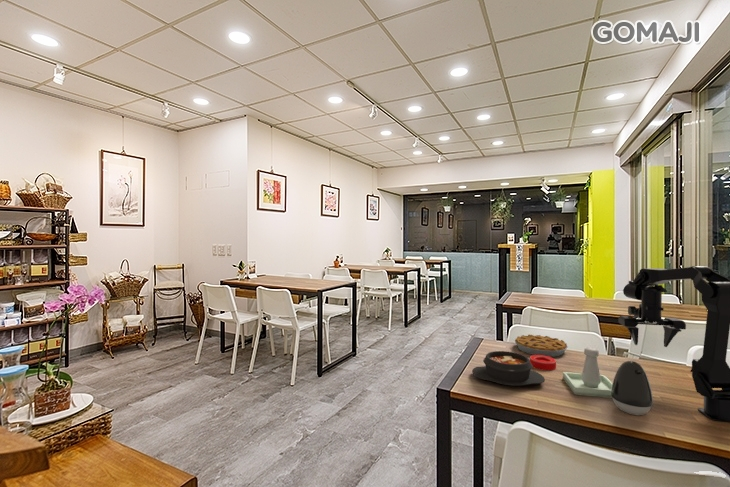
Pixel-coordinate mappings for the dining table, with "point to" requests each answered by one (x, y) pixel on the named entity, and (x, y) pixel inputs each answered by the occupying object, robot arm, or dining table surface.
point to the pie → (541, 345)
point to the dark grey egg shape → (632, 389)
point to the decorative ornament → (543, 362)
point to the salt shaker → (591, 368)
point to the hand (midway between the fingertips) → (650, 345)
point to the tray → (580, 389)
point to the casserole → (508, 369)
